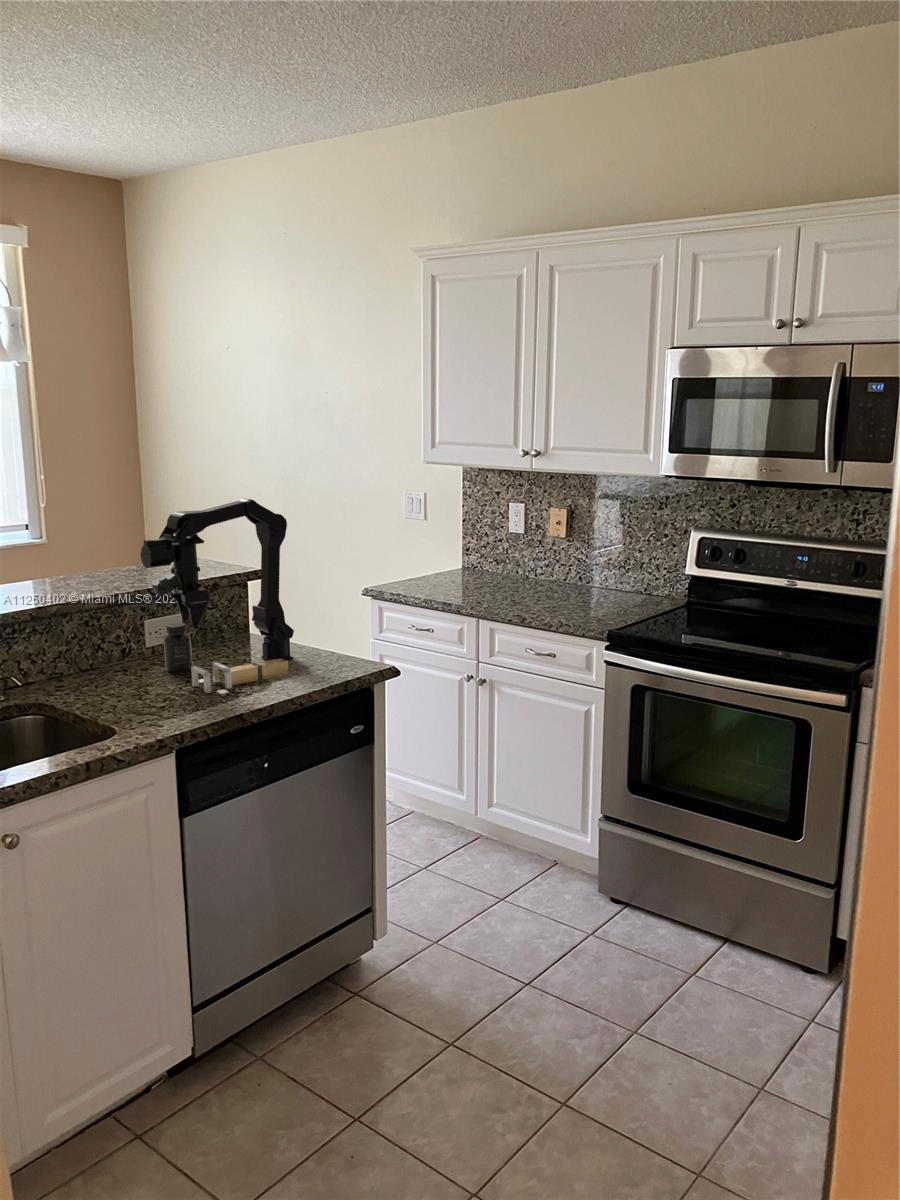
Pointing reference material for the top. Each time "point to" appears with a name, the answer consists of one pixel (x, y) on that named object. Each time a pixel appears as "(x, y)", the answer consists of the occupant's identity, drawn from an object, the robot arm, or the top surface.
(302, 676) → the top surface
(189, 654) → the supplement bottle
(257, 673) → the banded wooden block
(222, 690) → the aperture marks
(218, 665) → the collar
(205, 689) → the collar
